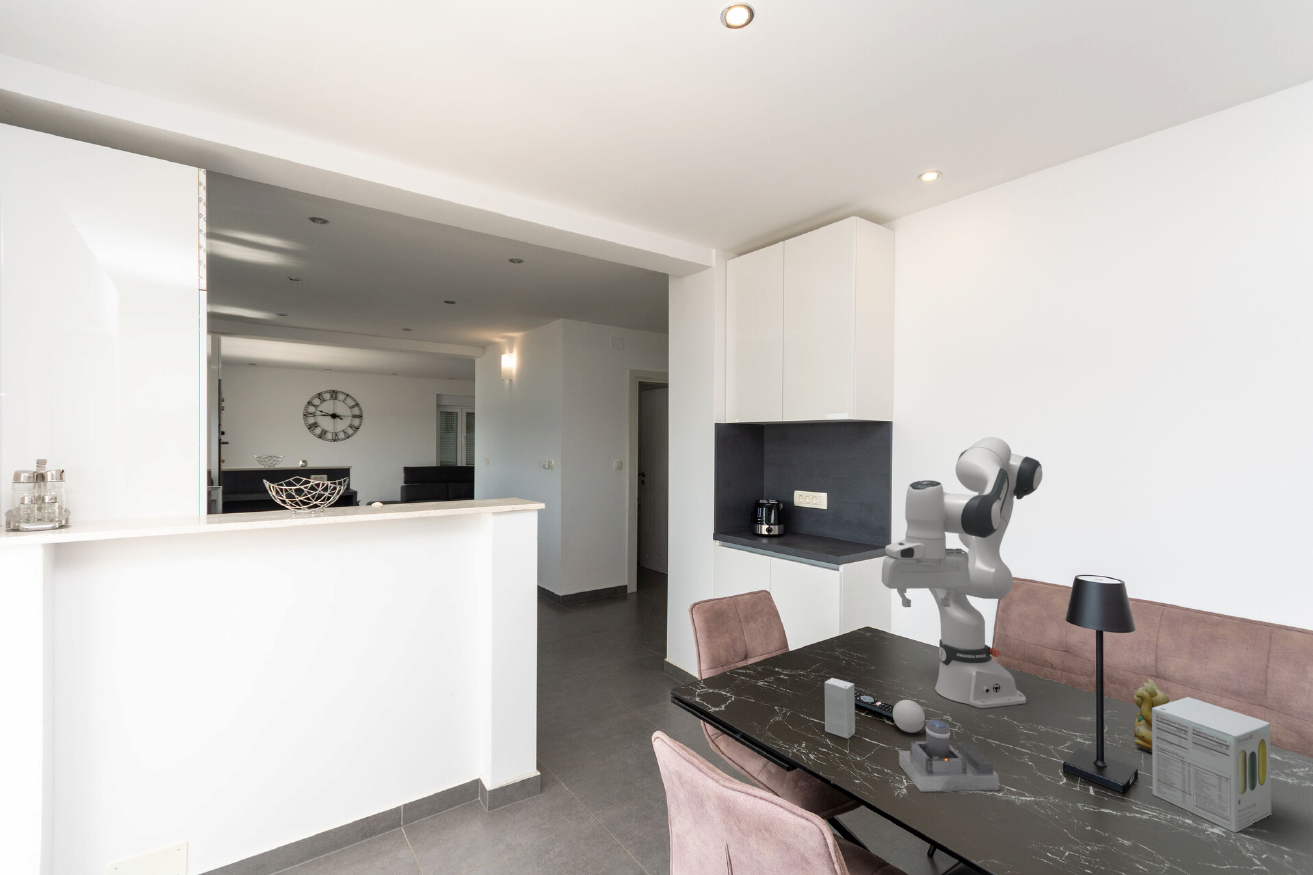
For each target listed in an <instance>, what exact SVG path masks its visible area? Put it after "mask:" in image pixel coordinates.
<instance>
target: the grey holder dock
mask: <svg viewBox="0 0 1313 875" xmlns="http://www.w3.org/2000/svg"><path fill="white" fill-rule="evenodd" d="M909 748H910V749H909V750H898V765H899V767H900V768H901V769H902V770H903V771H904V773H905V774H906V775H907V776H908V778H909V779H910V780H911V782H912V783H913V784H914V785H915V787H916V788H917V789H918V790H919V791H920V792H923V793H925V792H969V791H970V792H971V791H972V792H973V791H975V792H976V791H978V792H979V791H980V792H981V791H999V790H1000V775H999V774H998V773H997V772H996V771H995V770H994V763H993V762H992V761H991V760H990V759H989V758H988V757H987V756H986V755H984V754H983V753H982V752H981V751H980V750H979V749H978V748H977V747H976V746H974V745H973V744H972V743H960V744H959V743H958V744H957V749H955V748H954V747H953V746H952V745H951V744H950V749H949V758H946V757H944V758H938V759H930V758H929V757H928V755H927V754H926V740H925V741H909Z"/></svg>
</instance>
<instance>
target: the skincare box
mask: <svg viewBox="0 0 1313 875" xmlns="http://www.w3.org/2000/svg"><path fill="white" fill-rule="evenodd" d="M855 698H856V697H855V683H852V682H849V681H847V680H841V679H839V678H834V677H831V678H830V679H827V680H826V681H824V731H825V732H826V733H830V734H833V735H835V736H839V737H841V738H845V739H849V738H851V737H852V736H854V735H855V733H856V711H855V710H856V706H855V705H856V704H855V701H856V700H855Z"/></svg>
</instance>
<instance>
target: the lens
mask: <svg viewBox="0 0 1313 875" xmlns="http://www.w3.org/2000/svg"><path fill="white" fill-rule="evenodd" d="M950 728H951V727H950V725H949V724H948V723H947V722H945V721H942V720H939V719H928V720H927V721H926V726H925V732H926V734H925V736H926V738H925V739H926V740H925V741H926V754H927V755H928V757H929V758H930V759H938V758H944V757H946V758H949V749H950V745H951V744H950V738H951V730H950Z"/></svg>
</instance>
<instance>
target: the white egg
mask: <svg viewBox="0 0 1313 875" xmlns="http://www.w3.org/2000/svg"><path fill="white" fill-rule="evenodd" d="M923 710H924V709H923V707H921V706H920V705H919V704H918V703H917V702H915V701H914V700H911V699H901V700H900V701H898V702H897V703H896V704H895V705H894V706H893V709H892V717H893V720H894V723H895V724H896V726H897V727H898V728H899V729H900V730H901V731H904V732H905V733H911V734H912V733H917V732H919V731H920V730H922V729H923V728H924V725H925V722H926V720H927V719H926V715H925V712H924V711H923Z"/></svg>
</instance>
